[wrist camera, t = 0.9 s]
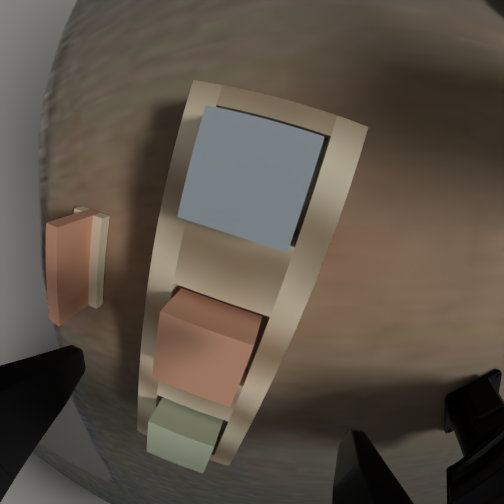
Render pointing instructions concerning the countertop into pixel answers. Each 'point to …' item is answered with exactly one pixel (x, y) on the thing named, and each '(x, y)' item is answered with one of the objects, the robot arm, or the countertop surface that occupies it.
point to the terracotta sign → (75, 263)
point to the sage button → (182, 435)
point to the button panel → (244, 257)
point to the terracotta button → (204, 346)
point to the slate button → (249, 176)
